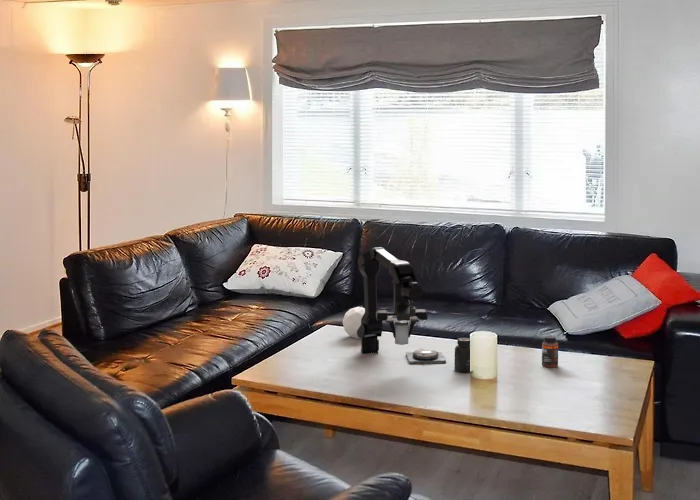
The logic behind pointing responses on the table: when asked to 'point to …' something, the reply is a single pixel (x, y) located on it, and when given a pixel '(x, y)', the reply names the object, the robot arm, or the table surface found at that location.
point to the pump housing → (401, 332)
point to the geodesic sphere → (353, 321)
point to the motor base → (425, 356)
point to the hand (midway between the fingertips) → (401, 337)
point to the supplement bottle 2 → (550, 352)
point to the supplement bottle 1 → (462, 356)
